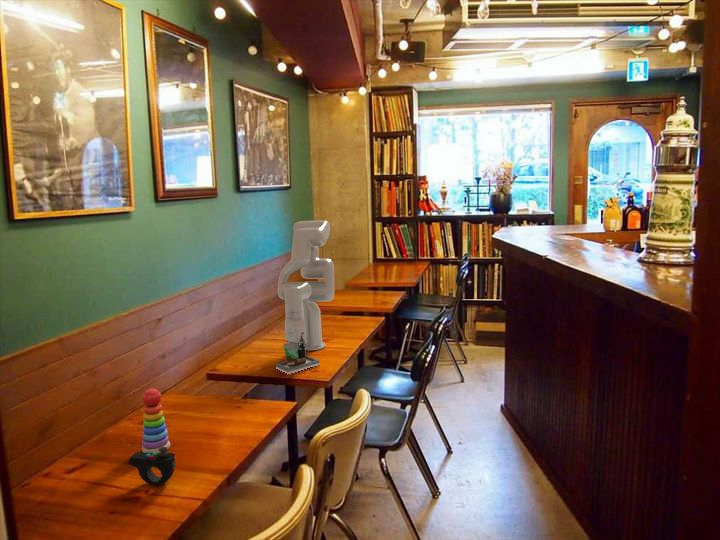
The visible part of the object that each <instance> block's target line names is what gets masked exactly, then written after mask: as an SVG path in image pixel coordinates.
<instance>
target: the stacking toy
mask: <svg viewBox="0 0 720 540" xmlns="http://www.w3.org/2000/svg"><path fill="white" fill-rule="evenodd" d="M161 400H162V394H161V392H160V390H158V389H156V388H149V389H147V390H146V391H145V392H144V393H143V396H142V401H143V403H144V404H145V406H144V408H143V411H144V413H143V414H142V415H143V422H142V423H143V428H142V432H143V433H142V440H141V445H142V446H141V451H142V452H143V453H160V451H159V449H160V448H161V447H167V450H169V449H170V447H171V442H170V440H169V435H168V433H169V431H168V428H167V424H166V422H165V420H166V419H165V416H164V412H163V410H162V409H163V405H162V404H161V403H160V402H161Z"/></svg>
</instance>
